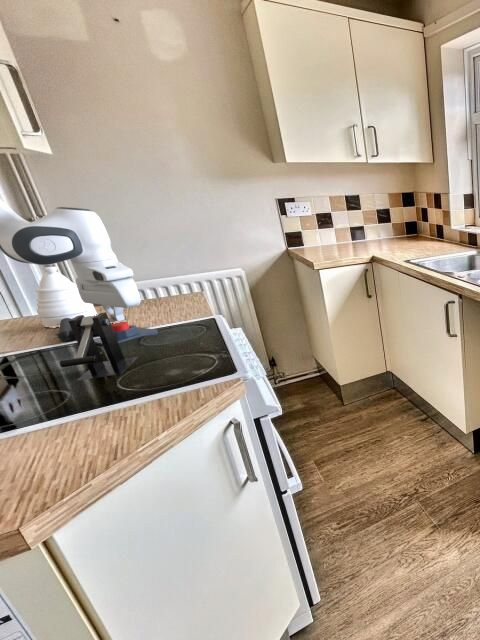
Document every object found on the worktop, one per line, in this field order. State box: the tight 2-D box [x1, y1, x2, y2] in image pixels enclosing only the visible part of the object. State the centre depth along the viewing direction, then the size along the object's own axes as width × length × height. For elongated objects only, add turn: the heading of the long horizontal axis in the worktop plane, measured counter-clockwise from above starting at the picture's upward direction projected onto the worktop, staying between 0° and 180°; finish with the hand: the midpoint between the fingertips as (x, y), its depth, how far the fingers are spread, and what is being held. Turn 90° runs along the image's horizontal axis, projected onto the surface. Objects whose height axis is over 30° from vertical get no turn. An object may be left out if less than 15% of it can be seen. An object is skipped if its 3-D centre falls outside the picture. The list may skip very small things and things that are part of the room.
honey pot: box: [34, 266, 98, 327], centre depth 134 cm, size 13×13×18 cm
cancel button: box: [111, 321, 130, 332], centre depth 117 cm, size 4×4×2 cm
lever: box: [59, 315, 98, 368], centre depth 91 cm, size 13×6×2 cm, turn 24°
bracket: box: [69, 311, 139, 382], centre depth 96 cm, size 11×8×14 cm
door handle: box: [52, 315, 128, 342], centre depth 128 cm, size 3×20×16 cm
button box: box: [93, 324, 159, 346], centre depth 118 cm, size 12×9×4 cm
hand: (118, 320), depth 116 cm, fingers closed
